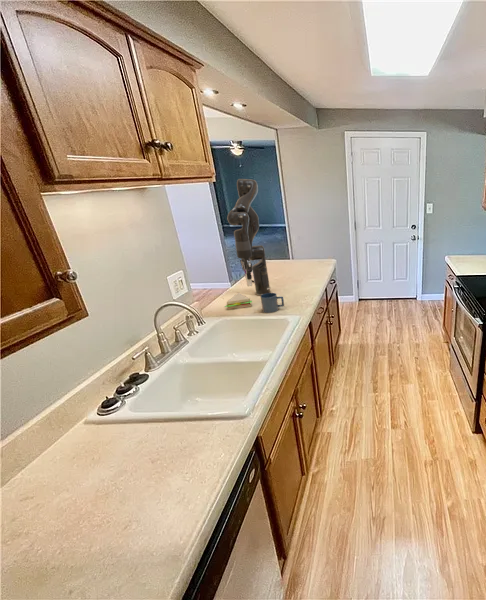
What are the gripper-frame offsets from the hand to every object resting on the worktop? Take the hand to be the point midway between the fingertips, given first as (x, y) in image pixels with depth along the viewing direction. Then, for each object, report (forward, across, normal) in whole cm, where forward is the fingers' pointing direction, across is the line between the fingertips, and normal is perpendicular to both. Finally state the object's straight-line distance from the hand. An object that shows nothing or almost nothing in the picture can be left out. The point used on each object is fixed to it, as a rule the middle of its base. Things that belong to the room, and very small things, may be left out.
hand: (248, 278), depth 189 cm
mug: (+21, -4, -10) cm, 24 cm away
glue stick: (+5, 0, 0) cm, 5 cm away
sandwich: (+21, +19, +2) cm, 29 cm away
